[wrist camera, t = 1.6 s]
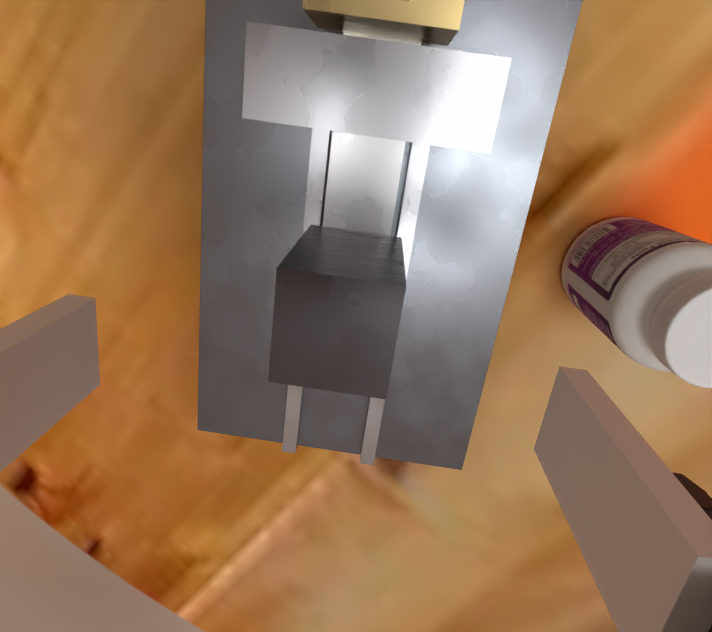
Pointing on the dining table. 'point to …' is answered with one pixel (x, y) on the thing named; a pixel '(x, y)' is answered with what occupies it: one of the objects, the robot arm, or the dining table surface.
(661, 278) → the pill bottle
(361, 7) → the block
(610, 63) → the dining table surface
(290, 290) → the sliding bolt with handle
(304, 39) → the slotted base plate
